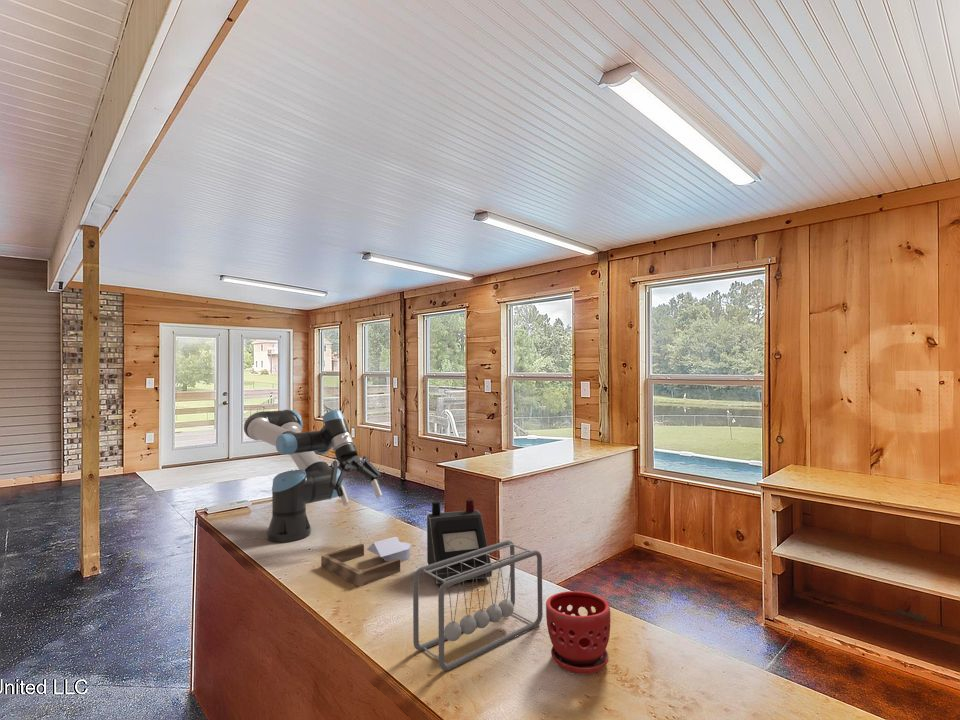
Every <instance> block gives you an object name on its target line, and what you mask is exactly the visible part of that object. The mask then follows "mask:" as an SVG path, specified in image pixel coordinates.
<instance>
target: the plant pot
mask: <svg viewBox="0 0 960 720" xmlns="http://www.w3.org/2000/svg"><path fill="white" fill-rule="evenodd" d="M569 606H571V607H572V608H571V609H570V610H569V609H568V607H569ZM592 607H593V608H594V609H595V611H593V609H592ZM580 608H584V609H585V610H586V611H587V614H586V615H580V613H579V610H580ZM545 615H546V618H545V619H546V625H547V632H548V635H549V639H550V641H551V645H552V647H551V650H550V654H551V658H552V659H553V662H554V663H555V664H556V665H557V666H558V667H559V668H561V669H563V670H564V671H566V672H569V673H573V674H577V675H590V674H594V673H595V672H596V673H597V672H599V671H601V670H603V669H604V668H605V667H606V665H607V664H608V662H609V658H610V657H609V653H608V651H607V646H608V644H609V640H610V634H611V607H610V603H608V601H607V600H606V599H605V598H603V597H601V596H599V595H597V594H594V593H591V592H586V591H577V590H572V591H571V590H570V591H569V590H568V591H562V592H558V593H554V594H552V595H550V597H548V598H547V600H546V602H545ZM596 673H595V674H596Z"/></svg>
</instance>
